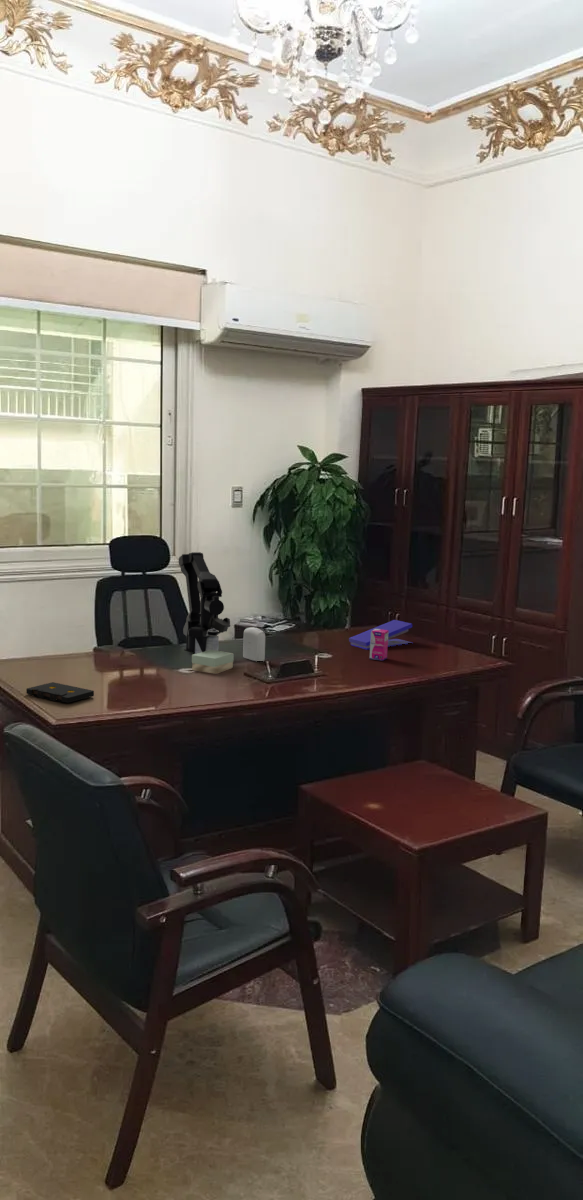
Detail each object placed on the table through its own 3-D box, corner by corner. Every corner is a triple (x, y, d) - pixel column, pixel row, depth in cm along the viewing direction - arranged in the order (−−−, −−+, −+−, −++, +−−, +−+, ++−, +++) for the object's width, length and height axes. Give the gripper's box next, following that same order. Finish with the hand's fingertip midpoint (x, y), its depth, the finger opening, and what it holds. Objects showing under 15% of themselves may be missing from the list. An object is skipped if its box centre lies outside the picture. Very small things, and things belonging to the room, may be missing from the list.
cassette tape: (25, 694, 288) (25, 687, 288) (52, 687, 298) (52, 681, 298) (68, 703, 279) (68, 696, 279) (94, 696, 289) (94, 689, 289)
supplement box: (369, 659, 360) (370, 630, 358) (373, 656, 365) (374, 628, 364) (383, 661, 358) (384, 632, 356) (387, 658, 363) (389, 629, 362)
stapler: (413, 645, 394) (415, 623, 393) (366, 651, 376) (368, 628, 375) (394, 641, 403) (396, 619, 401) (347, 647, 385) (349, 624, 384)
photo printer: (241, 657, 353) (242, 626, 352) (250, 656, 356) (251, 625, 354) (257, 662, 346) (258, 630, 344) (266, 661, 348) (267, 629, 346)
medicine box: (218, 658, 348) (219, 635, 347) (212, 660, 344) (213, 637, 343) (200, 655, 351) (201, 633, 350) (194, 657, 347) (195, 635, 346)
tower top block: (191, 663, 329) (191, 654, 329) (211, 657, 340) (211, 649, 339) (214, 666, 324) (214, 658, 324) (233, 661, 335) (233, 653, 334)
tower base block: (192, 671, 329) (192, 663, 328) (208, 665, 340) (209, 657, 339) (216, 675, 325) (216, 667, 324) (232, 669, 336) (232, 661, 335)
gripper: (214, 616, 334) (213, 658, 336) (238, 609, 350) (237, 649, 353) (187, 613, 338) (186, 654, 340) (212, 607, 355) (211, 646, 357)
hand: (206, 651), depth 347 cm, fingers closed on medicine box, 4 cm apart
